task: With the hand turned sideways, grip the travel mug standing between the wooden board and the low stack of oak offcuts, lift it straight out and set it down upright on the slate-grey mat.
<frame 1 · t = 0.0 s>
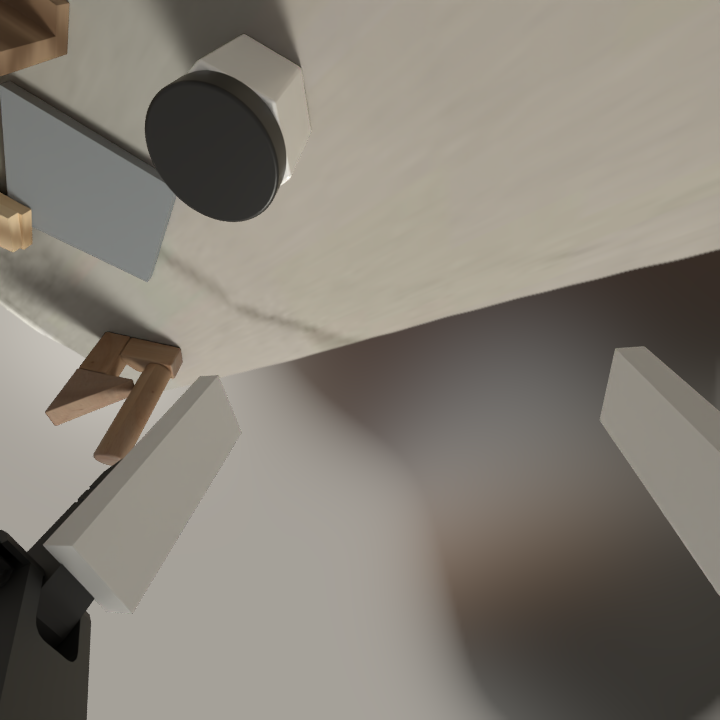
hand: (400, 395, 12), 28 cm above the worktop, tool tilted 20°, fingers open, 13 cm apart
jar: (262, 104, 30), on the worktop
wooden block: (146, 345, 55), on the worktop
mat: (94, 197, 37), on the worktop
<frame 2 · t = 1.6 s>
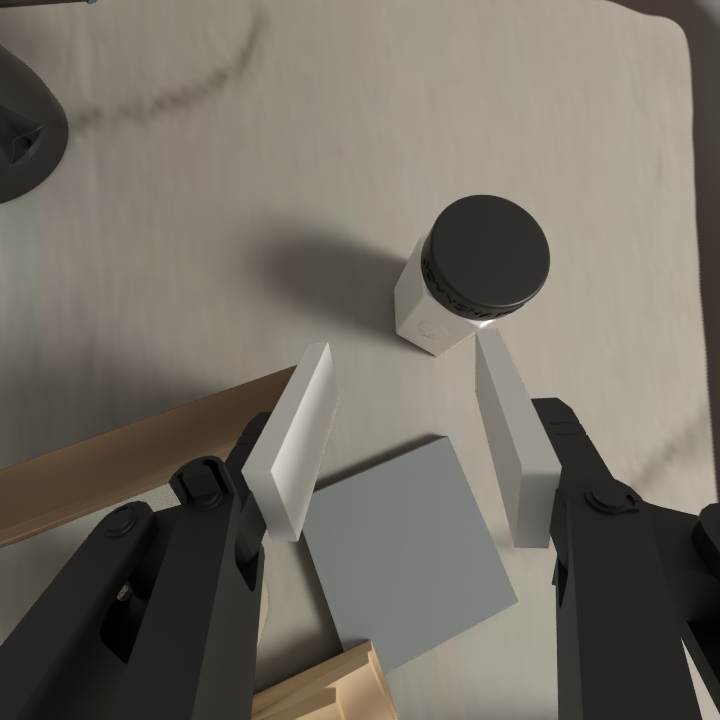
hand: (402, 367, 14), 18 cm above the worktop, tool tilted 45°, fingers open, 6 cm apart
travel mug: (216, 604, 28), on the worktop
jar: (433, 312, 35), on the worktop
mat: (402, 547, 30), on the worktop
wooden board: (176, 470, 29), on the worktop
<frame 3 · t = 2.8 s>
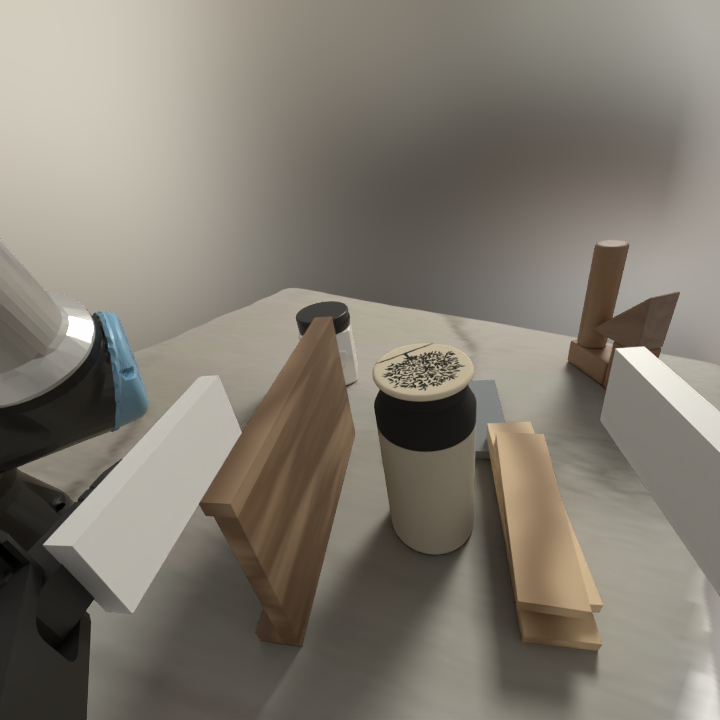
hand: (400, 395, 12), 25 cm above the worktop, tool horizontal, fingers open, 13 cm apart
travel mug: (431, 518, 36), on the worktop
offcut stack: (528, 517, 34), point 1 cm above the worktop, touching mat
jar: (335, 377, 61), on the worktop
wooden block: (603, 378, 51), on the worktop
mat: (446, 418, 48), on the worktop
wooden board: (328, 511, 38), on the worktop
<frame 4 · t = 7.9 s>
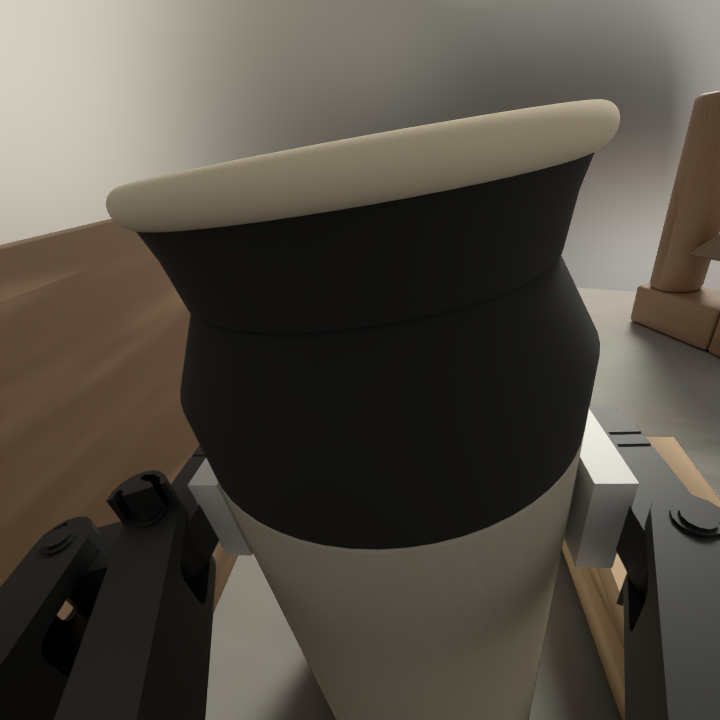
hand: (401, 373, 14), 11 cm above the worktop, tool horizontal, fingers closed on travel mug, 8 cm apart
travel mug: (424, 653, 15), on the worktop, touching gripper
offcut stack: (674, 657, 13), point 1 cm above the worktop, touching mat
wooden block: (700, 340, 31), on the worktop
wooden board: (189, 632, 17), on the worktop
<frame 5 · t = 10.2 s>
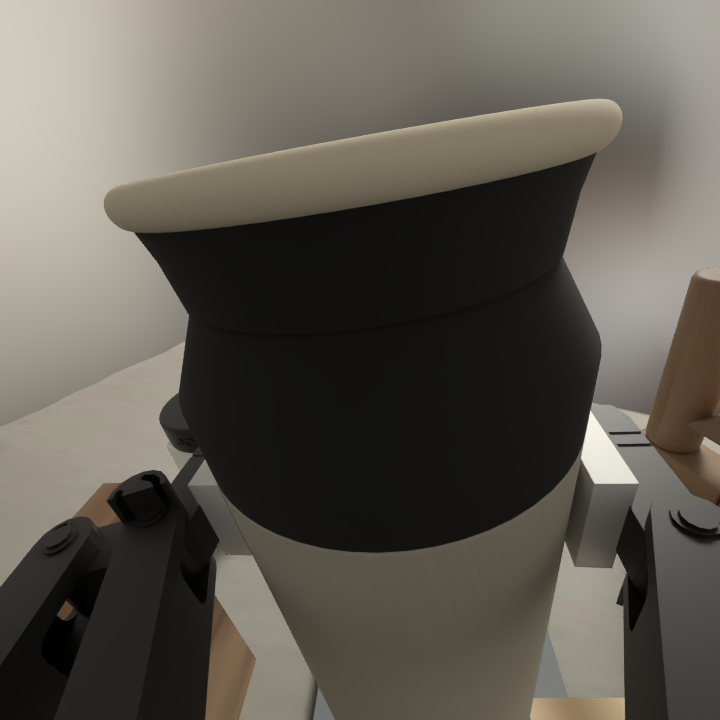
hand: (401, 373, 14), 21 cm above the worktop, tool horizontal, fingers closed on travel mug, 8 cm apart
travel mug: (424, 655, 15), point 10 cm above the worktop, touching gripper
jar: (249, 493, 38), on the worktop
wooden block: (699, 502, 29), on the worktop
mat: (432, 615, 25), on the worktop
when the fingers open (13 cm above the worktop, at t = 12.5 s): travel mug drops 1 cm, resting on mat.
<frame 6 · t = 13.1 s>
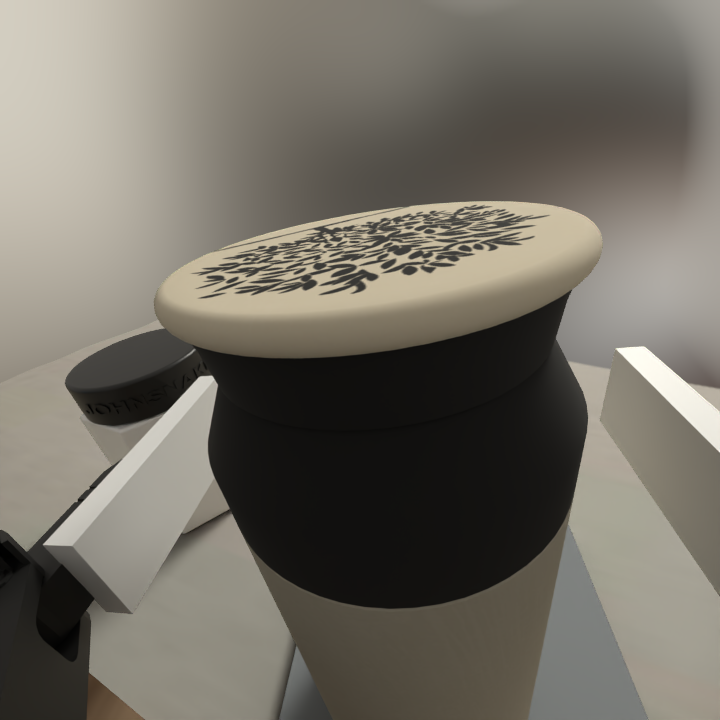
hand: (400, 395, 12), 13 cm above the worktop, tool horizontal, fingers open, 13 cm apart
travel mug: (424, 671, 15), point 1 cm above the worktop, touching mat
jar: (207, 486, 29), on the worktop
mat: (450, 681, 16), on the worktop
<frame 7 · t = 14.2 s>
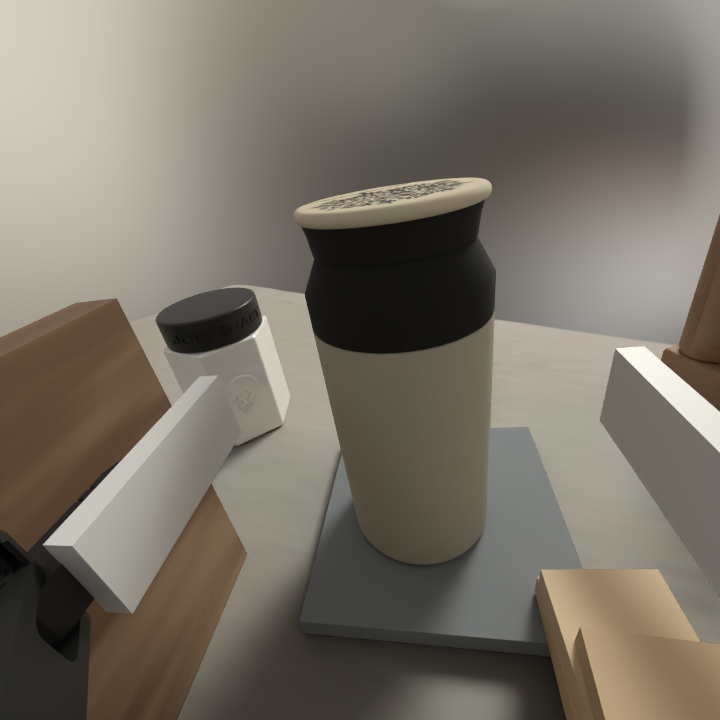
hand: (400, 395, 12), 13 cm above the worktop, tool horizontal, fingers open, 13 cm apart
travel mug: (419, 507, 23), point 1 cm above the worktop, touching mat
jar: (250, 417, 36), on the worktop
mat: (437, 517, 23), on the worktop
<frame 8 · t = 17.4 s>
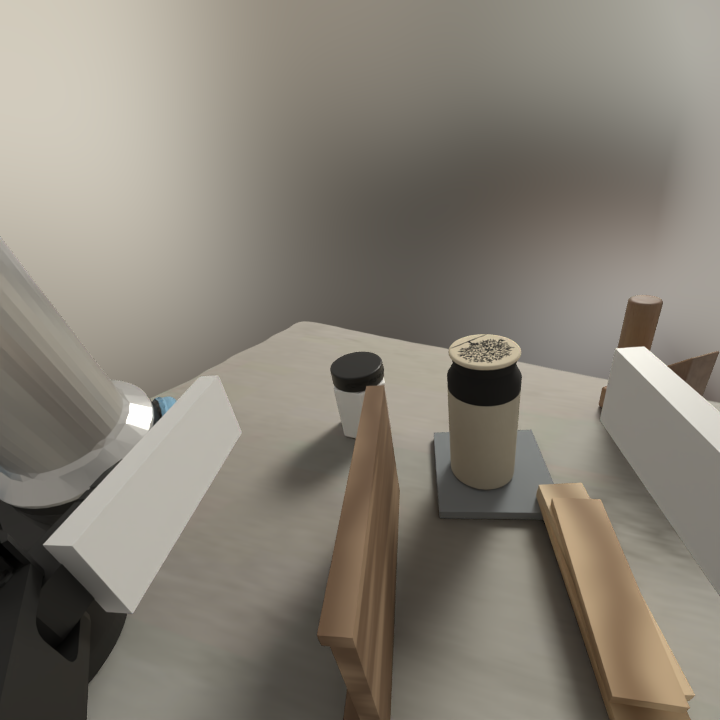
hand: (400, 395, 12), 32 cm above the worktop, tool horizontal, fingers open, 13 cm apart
travel mug: (481, 468, 48), point 1 cm above the worktop, touching mat
offcut stack: (594, 588, 34), point 1 cm above the worktop, touching mat
jar: (367, 425, 61), on the worktop
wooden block: (637, 424, 52), on the worktop
mat: (489, 473, 48), on the worktop
wooden board: (388, 584, 38), on the worktop
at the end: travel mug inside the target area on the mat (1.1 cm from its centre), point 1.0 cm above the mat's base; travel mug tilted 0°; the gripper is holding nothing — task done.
